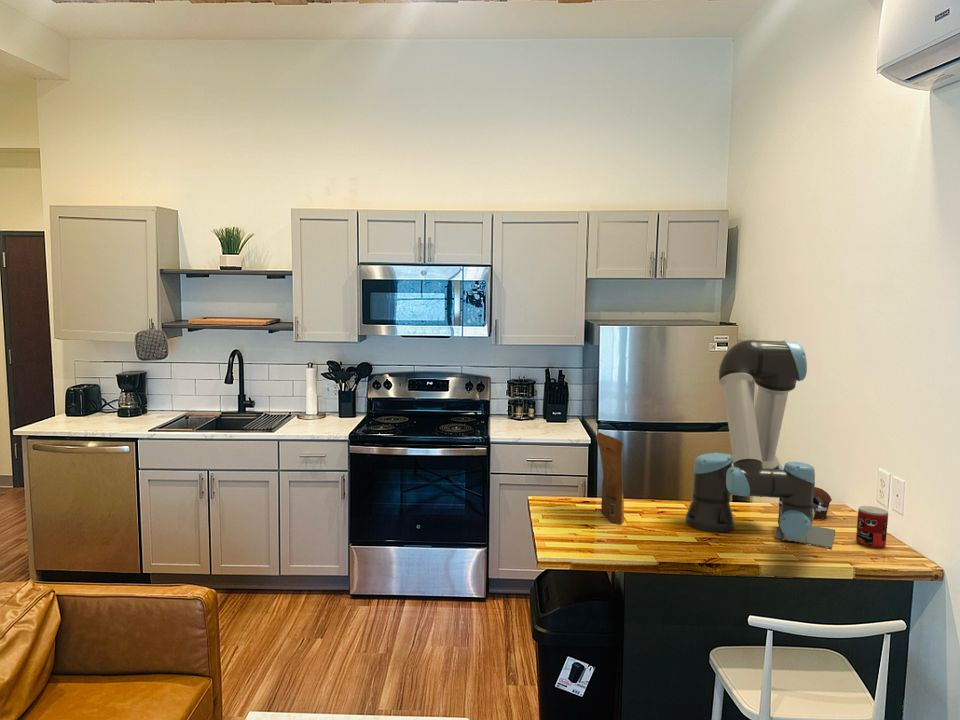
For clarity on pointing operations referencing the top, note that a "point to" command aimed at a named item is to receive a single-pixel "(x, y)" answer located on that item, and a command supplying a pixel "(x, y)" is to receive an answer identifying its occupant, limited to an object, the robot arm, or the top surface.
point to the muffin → (824, 497)
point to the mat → (815, 536)
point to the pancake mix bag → (612, 478)
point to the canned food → (872, 527)
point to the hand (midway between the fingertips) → (807, 492)
